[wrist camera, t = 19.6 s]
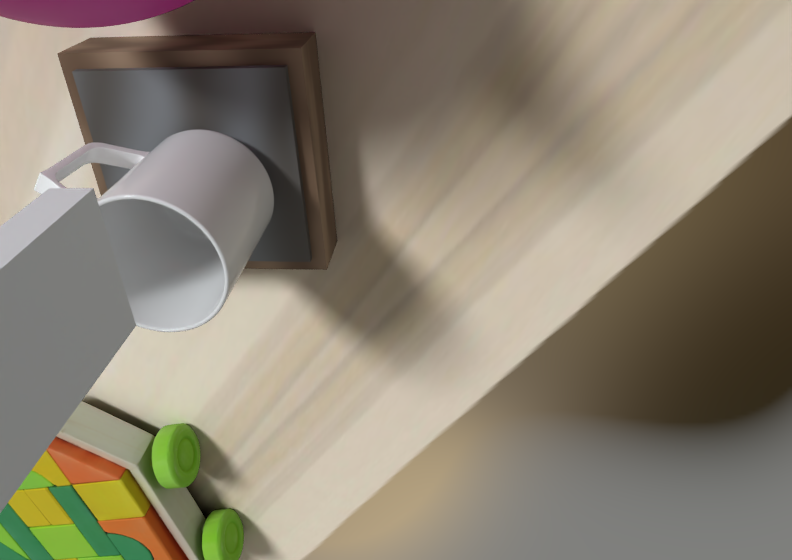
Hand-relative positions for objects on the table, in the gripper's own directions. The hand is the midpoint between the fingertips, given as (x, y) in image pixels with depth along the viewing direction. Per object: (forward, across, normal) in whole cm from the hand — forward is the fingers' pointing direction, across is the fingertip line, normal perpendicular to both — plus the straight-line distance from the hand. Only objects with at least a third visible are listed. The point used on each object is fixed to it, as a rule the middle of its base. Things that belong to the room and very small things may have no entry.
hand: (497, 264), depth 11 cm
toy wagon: (+37, -40, -53) cm, 76 cm away
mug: (+32, -19, -12) cm, 39 cm away
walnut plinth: (+37, -19, -12) cm, 43 cm away
